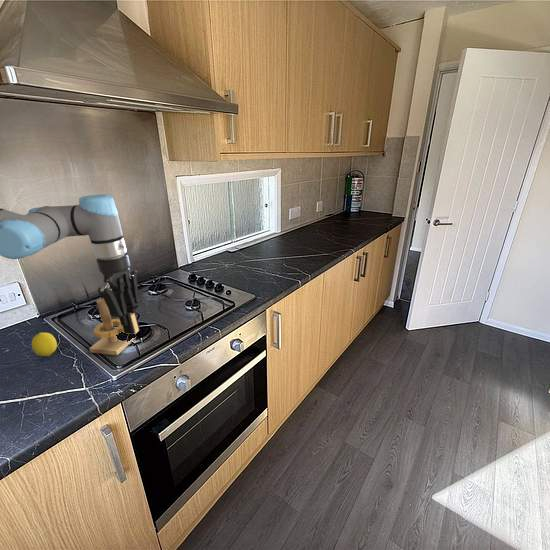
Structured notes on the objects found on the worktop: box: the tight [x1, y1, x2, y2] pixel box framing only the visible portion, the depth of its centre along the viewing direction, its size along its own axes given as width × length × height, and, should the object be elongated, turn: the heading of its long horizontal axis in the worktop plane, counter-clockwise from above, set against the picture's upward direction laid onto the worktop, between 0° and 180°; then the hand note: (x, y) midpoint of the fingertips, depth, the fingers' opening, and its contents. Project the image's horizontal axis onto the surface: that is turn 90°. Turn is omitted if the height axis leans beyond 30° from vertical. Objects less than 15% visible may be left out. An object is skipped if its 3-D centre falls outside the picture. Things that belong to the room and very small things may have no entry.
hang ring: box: [93, 313, 140, 339], centre depth 86 cm, size 13×8×6 cm, turn 79°
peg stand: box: [89, 297, 137, 356], centre depth 87 cm, size 9×9×16 cm
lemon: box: [31, 332, 58, 357], centre depth 84 cm, size 6×6×8 cm
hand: (132, 330), depth 86 cm, fingers closed on hang ring, 2 cm apart
